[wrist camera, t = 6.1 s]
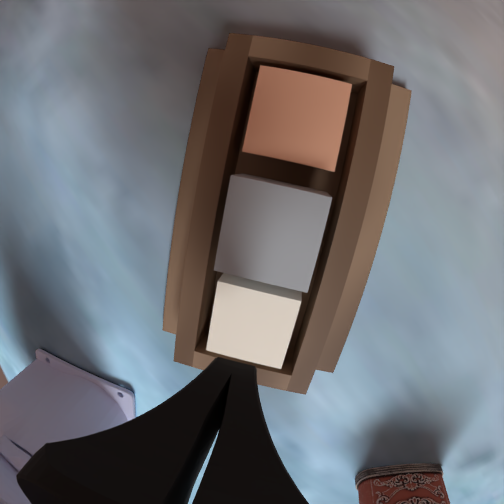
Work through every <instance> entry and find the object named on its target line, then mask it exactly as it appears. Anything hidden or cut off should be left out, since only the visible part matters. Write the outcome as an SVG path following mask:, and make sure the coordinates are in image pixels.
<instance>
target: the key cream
mask: <svg viewBox="0 0 504 504" xmlns="http://www.w3.org/2000/svg"><path fill="white" fill-rule="evenodd" d="M301 301H302V292H301V291H297V290H293V289H289V288H284V287H280V286H276V285H272V284H267V283H263V282H259V281H255V280H251V279H247V278H243V277H239V276H234V275H230V274H226V273H223V274H222V276H221V277H220V278H219V280H218V282H217V288H216V294H215V299H214V305H213V311H212V317H211V323H210V329H209V336H208V342H207V348H206V350H207V351H211V352H214V353H218V354H222V355H225V356H229V357H233V358H237V359H241V360H245V361H249V362H253V363H257V364H261V365H265V366H270V367H274V368H279V369H281V368H282V365H283V361H284V358H285V355H286V352H287V349H288V345H289V342H290V339H291V335H292V332H293V329H294V325H295V322H296V319H297V315H298V312H299V308H300V305H301Z"/></svg>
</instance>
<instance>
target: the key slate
mask: <svg viewBox="0 0 504 504" xmlns="http://www.w3.org/2000/svg"><path fill="white" fill-rule="evenodd" d="M331 201H332V197H331V196H330V195H329V194H328V193H327V192H324V191H320V190H316V189H312V188H308V187H303V186H299V185H295V184H290V183H286V182H282V181H277V180H272V179H268V178H263V177H258V176H254V175H249V174H244V173H242V174H235V175H231V178H230V183H229V188H228V193H227V198H226V204H225V209H224V215H223V220H222V226H221V231H220V237H219V242H218V248H217V254H216V260H215V265H214V271H218V272H222V273H226V274H230V275H234V276H239V277H243V278H247V279H251V280H255V281H259V282H263V283H267V284H272V285H276V286H280V287H284V288H289V289H293V290H297V291H301V292H306V293H308V289H309V286H310V282H311V279H312V275H313V271H314V268H315V264H316V260H317V257H318V253H319V249H320V245H321V241H322V237H323V234H324V230H325V226H326V222H327V218H328V214H329V209H330V205H331Z"/></svg>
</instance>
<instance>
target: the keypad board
mask: <svg viewBox="0 0 504 504" xmlns="http://www.w3.org/2000/svg"><path fill="white" fill-rule="evenodd" d="M260 65H262V66H269V67H275V68H281V69H287V70H292V71H297V72H302V73H307V74H312V75H317V76H321V77H325V78H330V79H334V80H338V81H342V82H346V83H350V84H352V87H351V93H350V98H349V104H348V109H347V114H346V119H345V124H344V129H343V134H342V139H341V144H340V149H339V153H338V158H337V163H336V167H335V172H332V171H327V170H323V169H319V168H315V167H311V166H307V165H302V164H298V163H293V162H289V161H284V160H280V159H275V158H270V157H265V156H260V155H255V154H250V153H246V152H242V149H243V144H244V139H245V134H246V130H247V125H248V120H249V115H250V111H251V106H252V101H253V97H254V92H255V87H256V83H257V78H258V74H259V69H260ZM393 72H394V66H391V65H388V64H385V63H382V62H379V61H375V60H372V59H369V58H365V57H362V56H358V55H354V54H350V53H347V52H343V51H339V50H334V49H330V48H326V47H321V46H316V45H311V44H306V43H301V42H296V41H290V40H284V39H277V38H270V37H263V36H255V35H246V34H235V33H229V36H228V40H227V44H226V48H225V50H224V49H211V48H208V52H207V56H206V60H205V64H204V68H203V73H202V77H201V81H200V86H199V90H198V94H197V99H196V104H195V108H194V113H193V118H192V123H191V128H190V133H189V138H188V143H187V148H186V154H185V159H184V165H183V171H182V177H181V183H180V189H179V195H178V201H177V208H176V215H175V222H174V229H173V236H172V244H171V252H170V260H169V268H168V277H167V287H166V296H165V307H164V318H163V331H167V332H170V333H173V334H176V342H175V352H174V361H175V362H178V363H182V364H185V365H188V366H191V367H195V368H198V369H201V370H205V369H206V368H207V367H208V365H209V364H210V363H211V362H212V361H213V360H214V359H215V358H217V357H222V358H225V359H229V360H233V361H237V362H241V363H245V364H249V365H253V366H255V367H256V369H257V384H258V385H263V386H267V387H271V388H276V389H281V390H285V391H290V392H295V393H300V394H305V395H306V392H307V390H308V387H309V385H310V382H311V380H312V377H313V375H314V372H315V370H321V371H326V372H332V373H333V372H334V369H335V367H336V364H337V362H338V359H339V357H340V354H341V352H342V349H343V347H344V344H345V342H346V339H347V336H348V334H349V331H350V328H351V326H352V323H353V320H354V317H355V315H356V312H357V309H358V306H359V303H360V300H361V297H362V295H363V292H364V289H365V286H366V282H367V279H368V276H369V273H370V270H371V267H372V264H373V260H374V257H375V254H376V250H377V247H378V243H379V240H380V236H381V233H382V229H383V226H384V222H385V218H386V214H387V211H388V207H389V203H390V199H391V195H392V190H393V186H394V182H395V178H396V173H397V169H398V164H399V159H400V154H401V149H402V144H403V139H404V134H405V128H406V123H407V117H408V111H409V104H410V98H411V90H408V89H405V88H402V87H400V86H397V85H394V84H392V79H393ZM242 173H244V174H249V175H254V176H258V177H263V178H268V179H272V180H277V181H282V182H286V183H290V184H295V185H299V186H303V187H308V188H312V189H316V190H320V191H324V192H327V193H328V194H329V195H330V196H331V197H332V201H331V205H330V209H329V214H328V218H327V222H326V226H325V230H324V234H323V237H322V241H321V245H320V249H319V253H318V257H317V260H316V264H315V268H314V271H313V275H312V279H311V282H310V286H309V289H308V293H306V292H302V301H301V305H300V308H299V312H298V315H297V319H296V322H295V325H294V329H293V332H292V335H291V339H290V342H289V345H288V349H287V352H286V355H285V358H284V361H283V365H282V368H281V369H279V368H274V367H270V366H265V365H261V364H257V363H253V362H249V361H245V360H241V359H237V358H233V357H229V356H225V355H222V354H218V353H214V352H211V351H207V350H206V348H207V342H208V336H209V329H210V323H211V317H212V311H213V305H214V299H215V294H216V288H217V282H218V280H219V278H220V277H221V276H222V274H223V273H222V272H218V271H214V265H215V260H216V254H217V248H218V242H219V237H220V231H221V226H222V220H223V215H224V209H225V204H226V198H227V193H228V188H229V183H230V178H231V175H235V174H242Z"/></svg>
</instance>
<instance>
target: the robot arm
mask: <svg viewBox="0 0 504 504" xmlns="http://www.w3.org/2000/svg"><path fill="white" fill-rule="evenodd" d="M35 354H36V360H35V361H34V362H32V363H31V364H30V365H29V366H27V367H26V368H25V369H24V370H23V371H22V372H20V373H19V374H18V375H17V376H16V377H14V378H13V379H12V380H11V381H10V382H9V383H7V384H6V385H5V386H4V387H3V388H2V389H1V390H0V504H188V501H189V498H190V495H191V492H192V489H193V486H194V484H195V481H196V479H197V476H198V474H199V472H200V470H201V468H202V466H203V464H204V461H205V459H206V457H207V455H208V453H209V450H210V448H211V446H212V444H213V442H214V439H215V437H216V435H217V432H218V430H219V433H218V437H217V440H216V443H215V445H214V448H213V451H212V454H211V457H210V459H209V462H208V465H207V467H206V470H205V473H204V475H203V478H202V480H201V483H200V486H199V488H198V491H197V493H196V496H195V498H194V500H193V503H192V504H309V503H308V502H307V501H306V499H305V498H304V497H303V495H302V494H301V492H300V491H299V489H298V488H297V486H296V485H295V483H294V481H293V480H292V478H291V477H290V475H289V473H288V472H287V470H286V468H285V467H284V465H283V463H282V461H281V459H280V457H279V455H278V453H277V450H276V448H275V446H274V444H273V441H272V439H271V436H270V433H269V430H268V427H267V425H266V422H265V418H264V415H263V411H262V407H261V403H260V398H259V393H258V386H257V369H256V367H255V366H253V365H249V364H245V363H241V362H237V361H233V360H229V359H225V358H222V357H217V358H215V359H214V360H213V361H212V362H211V363H210V364H209V365H208V367H207V368H206V369H205V370H204V371H202V372H201V373H200V374H199V375H198V376H197V377H196V378H195V379H194V380H192V381H191V382H190V383H189V384H188V385H186V386H185V387H184V388H183V389H181V390H180V391H179V392H177V393H176V394H175V395H173V396H172V397H170V398H169V399H167V400H166V401H165V402H163V403H161V404H160V405H158V406H157V407H155V408H153V409H151V410H150V411H148V412H146V413H144V414H142V415H140V416H138V417H136V418H135V396H134V394H133V393H132V392H131V391H130V390H128V389H125V388H123V387H120V386H118V385H116V384H113V383H111V382H108V381H106V380H104V379H101V378H99V377H97V376H95V375H92V374H90V373H88V372H86V371H84V370H82V369H79V368H77V367H75V366H73V365H71V364H69V363H67V362H65V361H63V360H61V359H59V358H57V357H55V356H53V355H51V354H49V353H48V352H46V351H44V350H42V349H37V350H36V351H35Z"/></svg>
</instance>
